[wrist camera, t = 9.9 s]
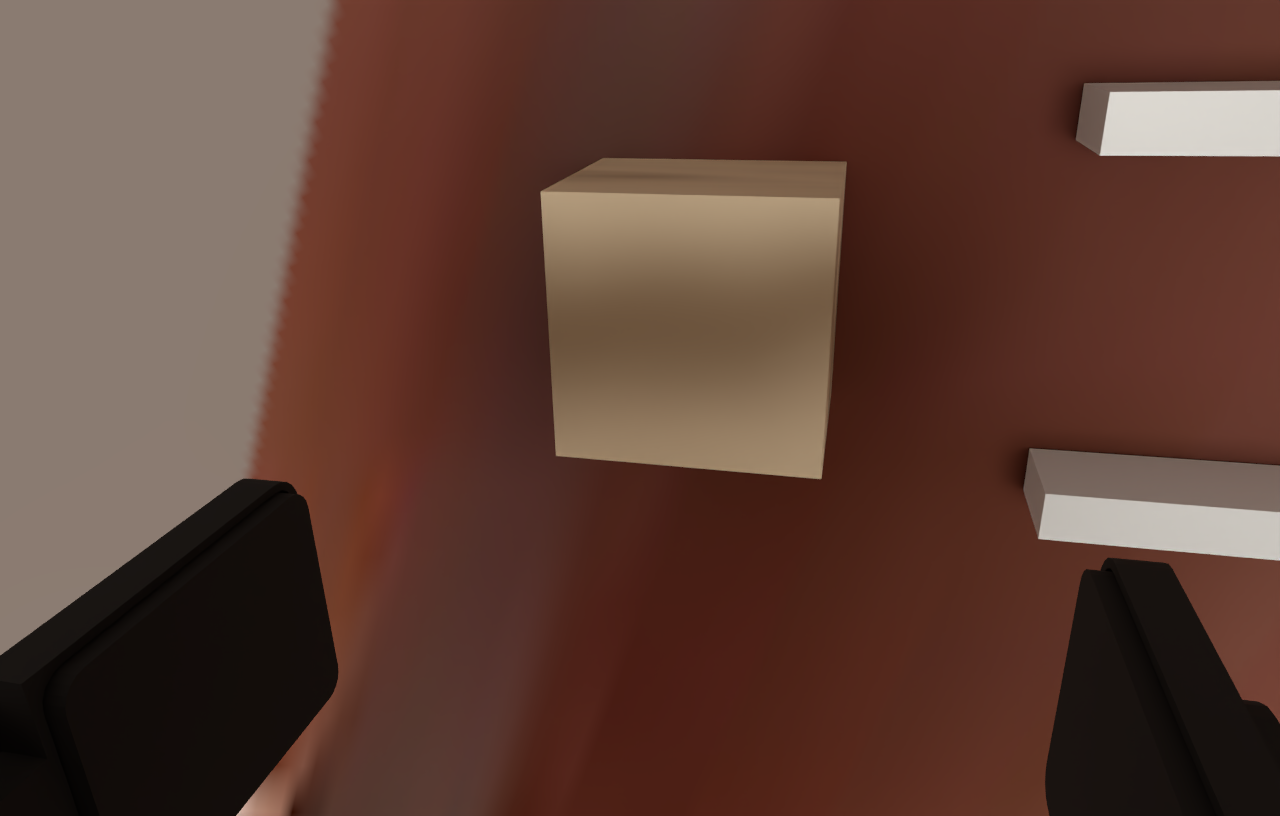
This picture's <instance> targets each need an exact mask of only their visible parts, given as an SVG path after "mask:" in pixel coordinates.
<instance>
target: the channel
mask: <svg viewBox="0 0 1280 816" xmlns="http://www.w3.org/2000/svg"><path fill="white" fill-rule="evenodd" d="M1076 141H1078V142H1079V143H1081V144H1083V145H1084V146H1086V147H1087V148H1089V149H1090V150H1092V151H1094V152H1095V153H1097V154H1098V155H1100V156H1280V81H1229V82H1147V83H1084V87H1083V94H1082V101H1081V108H1080V114H1079V121H1078V128H1077V134H1076ZM1023 491H1024V494H1025V497H1026V501H1027V504H1028V507H1029V510H1030V514H1031V517H1032V520H1033V523H1034V526H1035V530H1036V533H1037V536H1038V539H1044V540H1056V541H1067V542H1078V543H1089V544H1101V545H1112V546H1123V547H1134V548H1145V549H1157V550H1168V551H1179V552H1190V553H1201V554H1213V555H1224V556H1235V557H1246V558H1258V559H1269V560H1280V466H1279V465H1264V464H1250V463H1235V462H1221V461H1206V460H1192V459H1178V458H1163V457H1149V456H1134V455H1120V454H1105V453H1091V452H1076V451H1062V450H1047V449H1033V448H1029V455H1028V462H1027V468H1026V475H1025V482H1024V488H1023Z"/></svg>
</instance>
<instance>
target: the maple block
mask: <svg viewBox="0 0 1280 816" xmlns="http://www.w3.org/2000/svg"><path fill="white" fill-rule="evenodd" d="M846 166H847V162H836V161H770V160H704V159H638V158H602V159H600V160H599V161H597V162H595V163H593V164H591V165H589V166H587V167H585V168H584V169H582V170H580V171H578V172H576V173H574V174H572V175H570V176H569V177H567V178H565V179H563V180H561V181H559V182H557V183H556V184H554V185H552V186H550V187H548V188H546V189H544V190H542V191H541V208H542V225H543V242H544V259H545V276H546V293H547V310H548V327H549V345H550V362H551V379H552V396H553V413H554V430H555V447H556V456H563V457H575V458H586V459H598V460H609V461H620V462H632V463H643V464H654V465H666V466H677V467H689V468H700V469H711V470H723V471H734V472H745V473H757V474H768V475H780V476H791V477H802V478H814V479H821V478H822V469H823V461H824V452H825V443H826V435H827V426H828V417H829V408H830V400H831V388H832V373H833V358H834V344H835V329H836V314H837V299H838V285H839V270H840V255H841V240H842V225H843V211H844V196H845V181H846Z"/></svg>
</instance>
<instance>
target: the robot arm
mask: <svg viewBox="0 0 1280 816" xmlns="http://www.w3.org/2000/svg"><path fill="white" fill-rule="evenodd" d="M337 679H338V663H337V658H336V653H335V647H334V642H333V637H332V631H331V626H330V621H329V615H328V610H327V605H326V599H325V594H324V589H323V583H322V578H321V573H320V567H319V562H318V557H317V551H316V546H315V541H314V535H313V530H312V525H311V519H310V514H309V509H308V505H307V502H306V500H305V499H304V497H302V496H301V495H298V494H297V492H296V490H295V489H294V487H293V486H292V485H291V484H289V483H287V482H280V481H269V480H258V479H242V480H240V481H238V482H236V483H235V484H233V485H232V486H231V487H229V488H228V489H227V490H225V491H224V492H223V493H221V494H220V495H218V496H217V497H216V498H214V499H213V500H212V501H210V502H209V503H208V504H206V505H205V506H203V507H202V508H201V509H199V510H198V511H197V512H195V513H194V514H193V515H191V516H190V517H188V518H187V519H186V520H185V521H183V522H182V523H180V524H179V525H178V526H176V527H175V528H173V529H172V530H171V531H169V532H168V533H167V534H165V535H164V536H163V537H161V538H160V539H158V540H157V541H156V542H155V543H153V544H152V545H150V546H149V547H148V548H146V549H145V550H144V551H142V552H141V553H139V554H138V555H137V556H136V557H134V558H133V559H131V560H130V561H129V562H127V563H126V564H124V565H123V566H122V567H120V568H119V569H118V570H116V571H115V572H114V573H112V574H111V575H110V576H108V577H107V578H105V579H104V580H103V581H101V582H100V583H99V584H97V585H96V586H94V587H93V588H92V589H90V590H89V591H88V592H86V593H85V594H84V595H82V596H81V597H79V598H78V599H77V600H75V601H74V602H73V603H71V604H70V605H69V606H67V607H66V608H64V609H63V610H62V611H61V612H59V613H58V614H56V615H55V616H54V617H52V618H51V619H50V620H48V621H47V622H46V623H44V624H43V625H41V626H40V627H39V628H37V629H36V630H35V631H33V632H32V633H31V634H29V635H28V636H26V637H25V638H24V639H22V640H21V641H19V642H18V643H17V644H15V645H14V646H13V647H11V648H10V649H9V650H8V651H6V652H5V653H3V654H2V655H0V816H236V815H237V814H238V813H239V811H240V810H241V809H242V808H243V806H244V805H245V804H246V803H247V801H248V800H249V799H250V797H251V796H252V795H253V794H254V792H255V791H256V790H257V789H258V787H259V786H260V785H261V784H262V782H263V781H264V780H265V779H266V777H267V776H268V775H269V774H270V772H271V771H272V770H273V769H274V767H275V766H276V765H277V764H278V762H279V761H280V760H281V759H282V757H283V756H284V755H285V754H286V752H287V751H288V750H289V749H290V747H291V746H292V745H293V744H294V742H295V741H296V740H297V739H298V737H299V736H300V735H301V734H302V732H303V731H304V730H305V729H306V727H307V726H308V725H309V724H310V722H311V721H312V720H313V718H314V717H315V716H316V715H317V713H318V712H319V711H320V710H321V708H322V707H323V706H324V705H325V703H326V702H327V701H328V700H329V698H330V697H331V695H332V694H333V692H334V689H335V687H336V683H337ZM1045 789H1046V800H1047V806H1048V810H1049V815H1050V816H1280V724H1279V722H1278V720H1277V718H1276V717H1275V716H1274V715H1273V713H1272V712H1271V711H1270V709H1269V708H1268V707H1267V706H1265V705H1263V704H1262V703H1260V702H1256V701H1248V700H1242V699H1241V697H1240V695H1239V693H1238V691H1237V689H1236V687H1235V685H1234V684H1233V682H1232V680H1231V678H1230V676H1229V674H1228V672H1227V670H1226V669H1225V667H1224V665H1223V663H1222V661H1221V659H1220V657H1219V655H1218V654H1217V652H1216V650H1215V648H1214V646H1213V644H1212V642H1211V640H1210V639H1209V637H1208V635H1207V633H1206V631H1205V629H1204V627H1203V625H1202V624H1201V622H1200V620H1199V618H1198V616H1197V614H1196V612H1195V610H1194V609H1193V607H1192V605H1191V603H1190V601H1189V599H1188V597H1187V595H1186V593H1185V592H1184V590H1183V588H1182V586H1181V584H1180V582H1179V580H1178V578H1177V577H1176V575H1175V573H1174V571H1173V569H1172V568H1171V567H1170V565H1169V564H1167V563H1161V562H1150V561H1139V560H1128V559H1117V558H1107V559H1106V560H1105V561H1104V563H1103V565H1102V568H1101V571H1098V570H1088V569H1086V570H1085V571H1084V572H1083V575H1082V577H1081V581H1080V586H1079V592H1078V597H1077V602H1076V608H1075V613H1074V619H1073V624H1072V630H1071V635H1070V640H1069V646H1068V651H1067V657H1066V662H1065V667H1064V673H1063V678H1062V684H1061V689H1060V695H1059V700H1058V705H1057V711H1056V716H1055V722H1054V727H1053V733H1052V738H1051V743H1050V749H1049V754H1048V760H1047V766H1046V776H1045Z"/></svg>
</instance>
